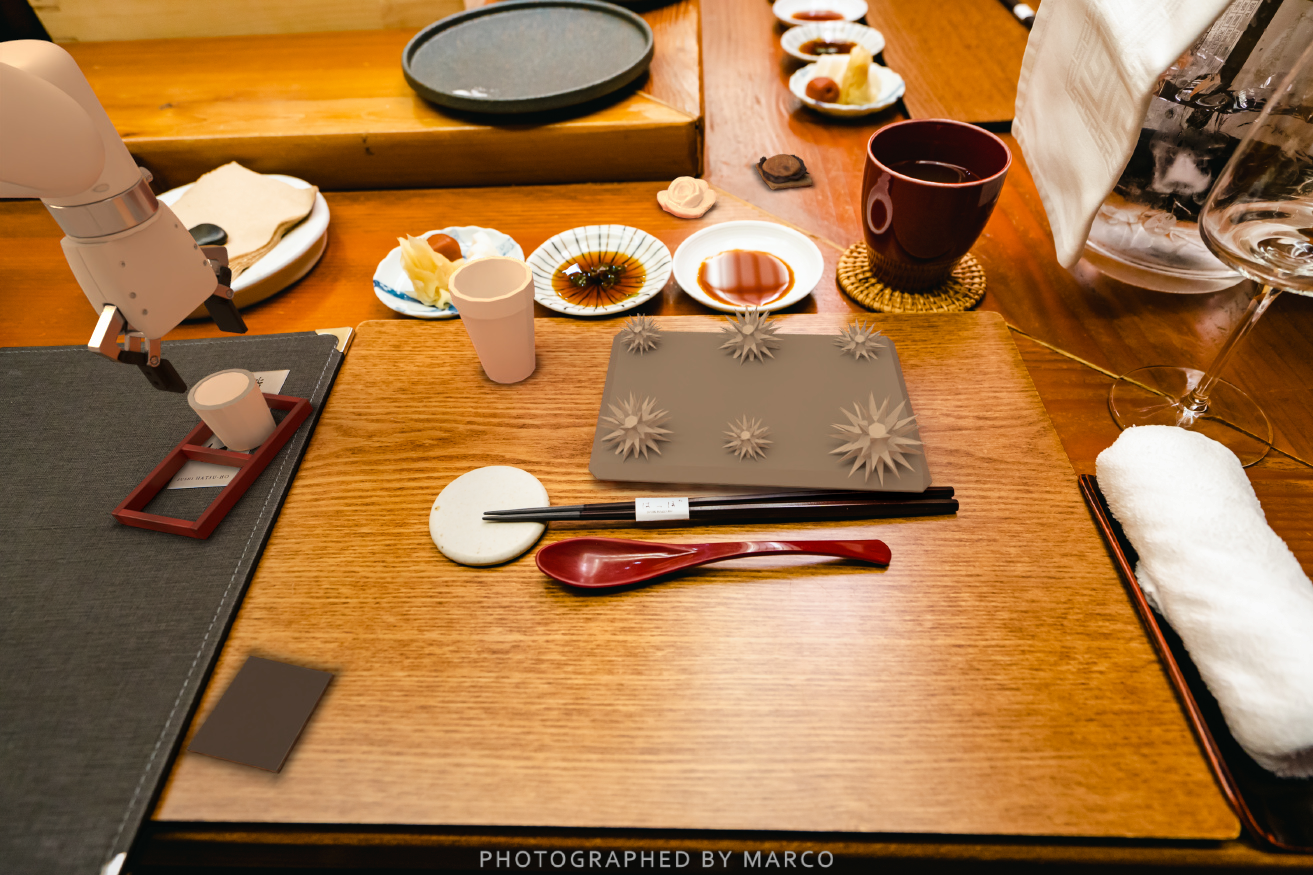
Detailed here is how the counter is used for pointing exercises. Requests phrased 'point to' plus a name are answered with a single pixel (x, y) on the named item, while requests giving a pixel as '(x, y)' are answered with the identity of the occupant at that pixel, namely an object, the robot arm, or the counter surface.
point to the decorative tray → (758, 410)
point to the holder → (193, 450)
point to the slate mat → (261, 714)
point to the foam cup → (498, 314)
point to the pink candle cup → (233, 408)
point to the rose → (687, 197)
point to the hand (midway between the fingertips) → (205, 359)
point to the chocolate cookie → (783, 171)
